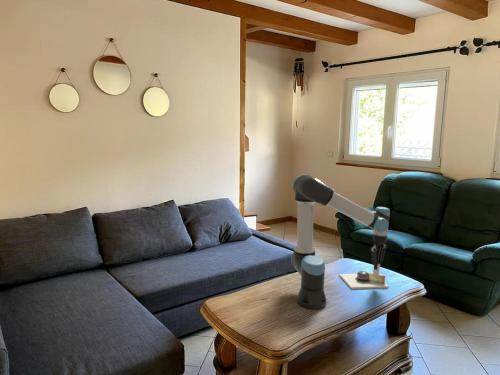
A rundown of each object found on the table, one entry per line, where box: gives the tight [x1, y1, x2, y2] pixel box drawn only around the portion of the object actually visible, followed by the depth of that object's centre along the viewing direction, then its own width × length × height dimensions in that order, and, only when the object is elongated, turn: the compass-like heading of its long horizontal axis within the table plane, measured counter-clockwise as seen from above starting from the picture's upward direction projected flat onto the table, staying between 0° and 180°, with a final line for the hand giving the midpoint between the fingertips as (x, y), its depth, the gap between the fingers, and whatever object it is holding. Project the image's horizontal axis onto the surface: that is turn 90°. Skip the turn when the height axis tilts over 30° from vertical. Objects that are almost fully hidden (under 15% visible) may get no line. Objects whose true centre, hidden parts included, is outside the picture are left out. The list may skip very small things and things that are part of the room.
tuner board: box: [338, 273, 390, 290], centre depth 215 cm, size 23×19×1 cm
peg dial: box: [356, 270, 386, 283], centre depth 213 cm, size 16×7×4 cm, turn 65°
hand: (375, 274), depth 207 cm, fingers closed
